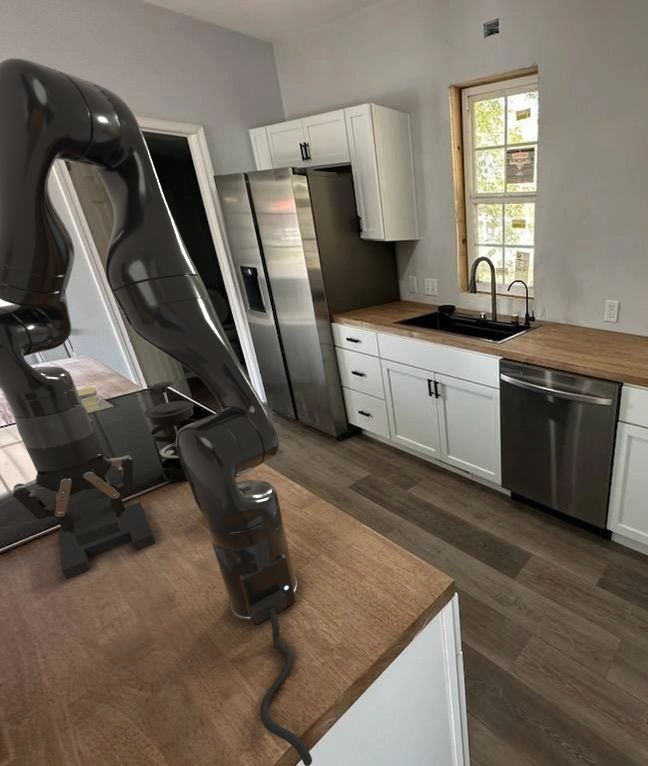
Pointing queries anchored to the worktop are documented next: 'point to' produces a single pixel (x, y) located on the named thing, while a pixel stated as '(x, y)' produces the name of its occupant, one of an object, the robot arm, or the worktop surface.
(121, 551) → the worktop surface
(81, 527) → the black pad
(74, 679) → the worktop surface
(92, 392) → the stacked layers on plate
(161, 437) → the french press
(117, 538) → the charcoal u-shaped block
